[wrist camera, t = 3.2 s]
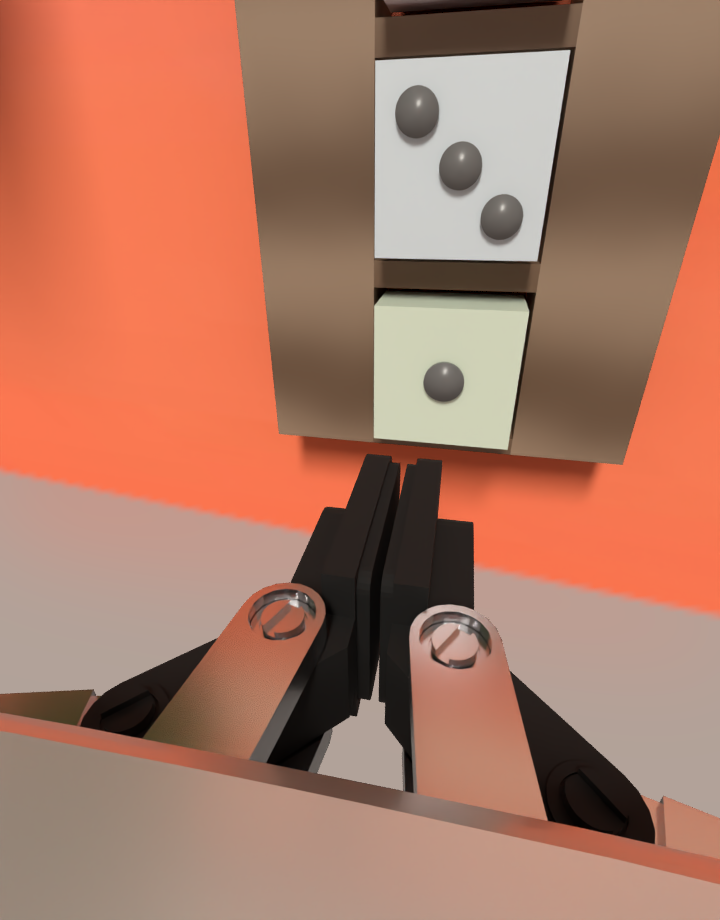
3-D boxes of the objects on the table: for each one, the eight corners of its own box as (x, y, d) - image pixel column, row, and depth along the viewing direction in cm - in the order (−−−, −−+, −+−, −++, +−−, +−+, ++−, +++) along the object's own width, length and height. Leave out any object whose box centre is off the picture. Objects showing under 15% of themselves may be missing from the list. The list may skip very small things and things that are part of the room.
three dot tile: (389, 75, 16) (374, 59, 13) (557, 67, 15) (571, 48, 12) (387, 247, 18) (373, 259, 16) (530, 250, 17) (537, 262, 15)
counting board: (251, -231, 14) (202, -318, 12) (806, -327, 12) (895, -465, 9) (300, 406, 24) (279, 433, 22) (606, 430, 22) (622, 464, 19)
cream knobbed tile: (386, 290, 19) (373, 307, 17) (523, 295, 18) (529, 313, 16) (384, 411, 21) (372, 440, 19) (504, 420, 20) (507, 452, 18)
